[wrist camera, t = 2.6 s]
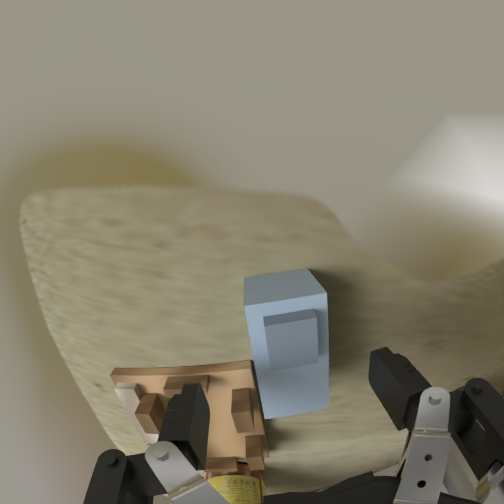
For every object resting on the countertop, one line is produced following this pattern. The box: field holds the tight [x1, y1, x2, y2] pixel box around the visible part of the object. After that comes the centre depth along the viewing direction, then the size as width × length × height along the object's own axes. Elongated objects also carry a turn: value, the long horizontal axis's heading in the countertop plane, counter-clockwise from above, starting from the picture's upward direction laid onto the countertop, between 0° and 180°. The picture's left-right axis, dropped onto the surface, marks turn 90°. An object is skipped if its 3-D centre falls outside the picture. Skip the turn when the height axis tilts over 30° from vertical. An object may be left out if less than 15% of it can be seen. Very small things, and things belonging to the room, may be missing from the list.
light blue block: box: [244, 269, 329, 419], centre depth 15 cm, size 4×8×6 cm, turn 8°
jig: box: [110, 360, 270, 472], centre depth 18 cm, size 11×12×4 cm
